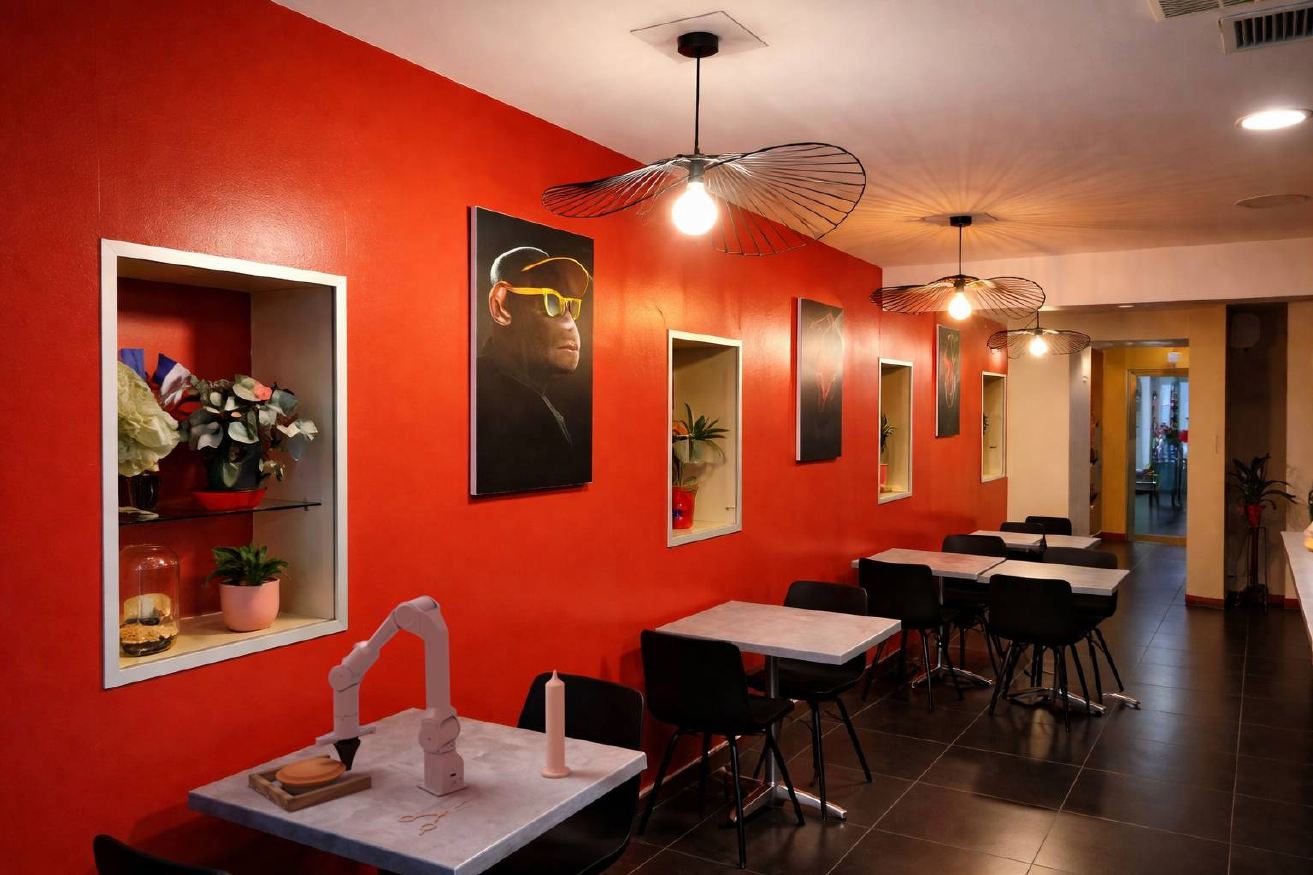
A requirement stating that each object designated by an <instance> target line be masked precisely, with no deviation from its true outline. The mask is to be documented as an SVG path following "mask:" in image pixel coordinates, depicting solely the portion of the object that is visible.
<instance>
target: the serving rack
mask: <svg viewBox="0 0 1313 875" xmlns="http://www.w3.org/2000/svg"><path fill="white" fill-rule="evenodd" d="M313 758H330V759H331V755H330V754H329V753H326V754H322V755H319V756H314V757H313ZM289 764H290V763H287V764H284V765H280V766H277V767H273V768H269V769H265V770H261V771H258V772H253V773H250V774H248V786H249V785H251V786H252V787H253V788H252V787H251V786H250V787H251V788H252V789H254V788H255V789H257V790H258V791H260V792H261V793H263V794H264V795H266V796H268V797H269V798H270V799H269V798H268V799H269V800H271V801H272V800H273V801H272V802H274V801H275V802H276V803H275V802H274V803H275V804H277V803H278V804H279V807H281V808H283V807H284V808H285V809H284V808H283V809H284V810H286V811H288V812H294V811H297V810H299V809H303V808H307V807H309V806H313V805H316V804H317V805H318V804H320V803H324V802H327V801H330V800H333V799H337V798H340V797H344V796H347V795H349V794H350V795H351V794H353V793H356V792H360V791H363V790H366V789H370V788H372V775H370V774H367V775H363V776H359V777H357V778H353V779H348V780H346V781H342V782H339V783H338V782H337V784H335V785H331V786H328V787H324V788H321V789H318V790H314V791H311V792H307V793H304V794H300V795H292V794H290V793H288V792H287V791H286V790H283V789H282V788H280V787H278V786H276V785H275V784H273V783H272V782H274V780H275V781H278V780H277V779H276V774H277V772H278V771H280V770H281V769H282V768H284V767H286V766H287V765H289ZM270 781H271V782H270ZM255 789H254V790H255ZM257 790H256V791H257ZM258 791H257V792H258ZM260 792H259V793H260ZM261 793H260V794H261ZM263 794H262V795H263ZM264 795H263V796H264ZM266 796H265V797H266ZM278 804H277V805H278Z"/></svg>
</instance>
